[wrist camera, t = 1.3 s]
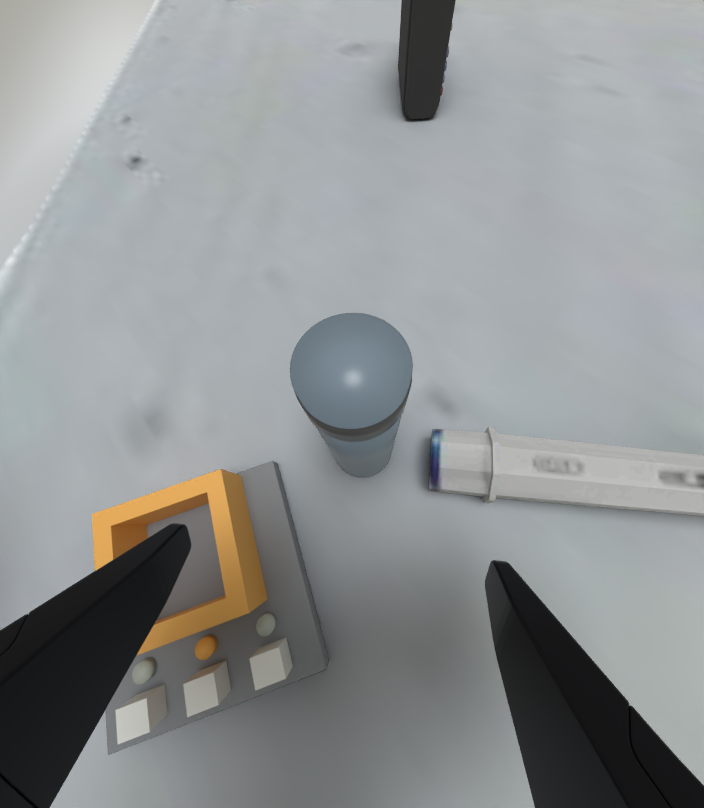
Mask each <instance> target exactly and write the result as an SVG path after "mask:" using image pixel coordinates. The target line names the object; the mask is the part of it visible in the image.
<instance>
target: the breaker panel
mask: <svg viewBox="0 0 704 808" xmlns="http://www.w3.org/2000/svg"><path fill="white" fill-rule="evenodd" d="M171 523H180V524H185V525H186V526H187V528H188V532H189V535H190V539H191V550H190V553H189V555H188V557H187V559H186V561H185V563H184V566H183V568H182V570H181V572H180V574H179V577H178V579H177V581H176V583H175V585H174V588H173V590H172V592H171V594H170V596H169V598H168V600H167V602H166V604H165V606H164V608H163V610H162V612H161V613H160V615H159V617H158V619H157V620H156V622H155V624H154V626H153V627H152V629H151V631H150V633H149V634H148V636H147V638H146V640H145V641H144V643H143V645H142V647H141V648H140V650H139V652H138V654H137V655H136V657H135V659H134V661H133V662H132V664H131V666H130V668H129V669H128V671H127V673H126V675H125V676H124V678H123V680H122V682H121V683H120V685H119V687H118V689H117V690H116V692H115V694H114V696H113V697H112V699H111V701H110V703H109V704H108V706H107V708H106V728H107V746H108V755H110V754H112V753H115V752H117V751H120V750H122V749H125V748H127V747H130V746H133V745H135V744H138V743H140V742H143V741H145V740H148V739H150V738H153V737H155V736H158V735H161V734H163V733H166V732H168V731H171V730H173V729H176V728H178V727H181V726H183V725H186V724H188V723H191V722H194V721H196V720H199V719H201V718H204V717H206V716H209V715H211V714H214V713H216V712H219V711H222V710H224V709H227V708H229V707H232V706H234V705H237V704H239V703H242V702H244V701H247V700H250V699H252V698H255V697H257V696H260V695H262V694H265V693H267V692H270V691H272V690H275V689H278V688H280V687H283V686H285V685H288V684H290V683H293V682H295V681H298V680H300V679H303V678H305V677H308V676H311V675H313V674H316V673H318V672H321V671H323V670H326V668H327V665H328V662H329V658H328V655H327V651H326V647H325V643H324V639H323V635H322V632H321V628H320V624H319V620H318V616H317V612H316V609H315V605H314V601H313V597H312V593H311V590H310V586H309V582H308V578H307V574H306V570H305V567H304V563H303V559H302V555H301V551H300V548H299V544H298V540H297V536H296V532H295V528H294V525H293V521H292V517H291V513H290V509H289V505H288V502H287V498H286V494H285V490H284V486H283V483H282V479H281V475H280V471H279V467H278V464H277V463H275V462H274V461H271V462H268V463H265V464H262V465H259V466H257V467H254V468H251V469H248V470H245V471H242V472H240V473H237V474H234V473H231V472H228V471H225V470H222V469H220V470H217V471H214V472H211V473H208V474H205V475H203V476H200V477H197V478H194V479H191V480H188V481H185V482H183V483H180V484H177V485H174V486H171V487H168V488H165V489H163V490H160V491H157V492H154V493H151V494H148V495H145V496H143V497H140V498H137V499H134V500H131V501H128V502H125V503H123V504H120V505H117V506H114V507H111V508H108V509H105V510H102V511H100V512H97V513H94V514H92V525H93V544H94V563H95V571H96V570H98V569H99V568H101V567H102V566H104V565H106V564H107V563H109V562H110V561H112V560H113V559H115V558H117V557H118V556H120V555H121V554H123V553H125V552H126V551H128V550H129V549H131V548H133V547H134V546H136V545H137V544H139V543H141V542H142V541H144V540H145V539H147V538H149V537H150V536H152V535H153V534H155V533H156V532H158V531H160V530H161V529H163V528H164V527H166V526H168V525H169V524H171Z"/></svg>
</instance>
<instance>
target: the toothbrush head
mask: <svg viewBox="0 0 704 808" xmlns="http://www.w3.org/2000/svg"><path fill="white" fill-rule="evenodd" d="M429 491H438V492H447V493H456V494H465V495H473V496H482V497H483V502H484V503H491V502H494V501H495V500H496V498H503V499H515V500H526V501H538V502H549V503H561V504H572V505H584V506H596V507H607V508H619V509H630V510H642V511H653V512H665V513H676V514H688V515H699V516H704V456H703V455H694V454H685V453H675V452H666V451H657V450H647V449H638V448H628V447H619V446H610V445H600V444H591V443H582V442H572V441H563V440H553V439H544V438H535V437H525V436H516V435H507V434H497V433H496V431H495V428H494V427H488V428H487V430H486V431H485V432H470V431H456V430H442V429H432V437H431V453H430V473H429Z"/></svg>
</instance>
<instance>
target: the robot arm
mask: <svg viewBox="0 0 704 808" xmlns="http://www.w3.org/2000/svg"><path fill="white" fill-rule="evenodd" d="M190 550H191V539H190V535H189V532H188V528H187V526H186V525H185V524H180V523H171V524H169V525H168V526H166V527H164V528H163V529H161V530H160V531H158V532H156V533H155V534H153V535H152V536H150V537H149V538H147V539H145V540H144V541H142V542H141V543H139V544H137V545H136V546H134V547H133V548H131V549H129V550H128V551H126V552H125V553H123V554H121V555H120V556H118V557H117V558H115V559H113V560H112V561H110V562H109V563H107V564H106V565H104V566H102V567H101V568H99V569H98V570H96V571H94V572H93V573H91V574H90V575H88V576H86V577H85V578H83V579H82V580H80V581H78V582H77V583H75V584H74V585H72V586H70V587H69V588H67V589H66V590H64V591H63V592H61V593H59V594H58V595H56V596H55V597H53V598H51V599H50V600H48V601H47V602H45V603H43V604H42V605H40V606H39V607H37V608H35V609H34V610H32V611H31V612H30V613H29V614H26V615H24V616H23V617H21V618H19V619H18V620H16V621H15V622H13V623H11V624H10V625H8V626H7V627H5V628H3V629H2V630H0V808H50V806H51V804H52V802H53V801H54V799H55V797H56V795H57V794H58V792H59V790H60V788H61V787H62V785H63V783H64V781H65V780H66V778H67V776H68V774H69V773H70V771H71V769H72V767H73V766H74V764H75V762H76V760H77V759H78V757H79V755H80V753H81V752H82V750H83V748H84V746H85V745H86V743H87V741H88V739H89V738H90V736H91V734H92V732H93V731H94V729H95V727H96V725H97V724H98V722H99V720H100V718H101V717H102V715H103V713H104V711H105V710H106V708H107V706H108V704H109V703H110V701H111V699H112V697H113V696H114V694H115V692H116V690H117V689H118V687H119V685H120V683H121V682H122V680H123V678H124V676H125V675H126V673H127V671H128V669H129V668H130V666H131V664H132V662H133V661H134V659H135V657H136V655H137V654H138V652H139V650H140V648H141V647H142V645H143V643H144V641H145V640H146V638H147V636H148V634H149V633H150V631H151V629H152V627H153V626H154V624H155V622H156V620H157V619H158V617H159V615H160V613H161V612H162V610H163V608H164V606H165V604H166V602H167V600H168V598H169V596H170V594H171V592H172V590H173V588H174V585H175V583H176V581H177V579H178V577H179V574H180V572H181V570H182V568H183V566H184V563H185V561H186V559H187V557H188V555H189V553H190ZM485 590H486V596H487V603H488V609H489V616H490V622H491V629H492V635H493V641H494V647H495V652H496V656H497V661H498V664H499V668H500V672H501V676H502V680H503V684H504V688H505V692H506V696H507V700H508V704H509V707H510V711H511V715H512V719H513V723H514V727H515V731H516V735H517V739H518V743H519V746H520V750H521V754H522V758H523V762H524V766H525V770H526V774H527V778H528V782H529V786H530V789H531V793H532V797H533V801H534V805H535V808H704V785H703V784H702V783H701V782H700V781H699V780H698V779H697V778H696V777H695V776H694V775H693V774H692V772H691V771H690V770H689V769H688V768H687V767H686V766H685V765H684V764H683V763H682V762H681V761H680V760H679V759H678V758H677V756H676V755H675V754H674V753H673V752H672V751H671V750H670V749H669V747H668V746H667V745H666V744H665V743H664V742H663V741H662V740H661V738H660V737H659V736H658V735H657V734H656V733H655V732H654V731H653V729H652V728H651V727H650V726H649V725H648V724H647V723H646V721H645V720H644V719H643V718H642V717H641V716H640V714H639V713H638V712H637V711H636V710H635V709H634V707H632V706H629V702H628V701H627V700H626V698H625V697H624V696H623V695H622V694H621V693H620V691H619V690H618V689H617V688H616V687H615V686H614V684H613V683H612V682H611V681H610V680H609V679H608V678H607V676H606V675H605V674H604V673H603V672H602V671H601V669H600V668H599V667H598V666H597V665H596V664H595V662H594V661H593V660H592V659H591V658H590V657H589V656H588V654H587V653H586V652H585V651H584V650H583V649H582V647H581V646H580V645H579V644H578V643H577V642H576V640H575V639H574V638H573V637H572V636H571V635H570V633H569V632H568V631H567V630H566V629H565V628H564V627H563V625H562V624H561V623H560V622H559V621H558V620H557V618H556V617H555V616H554V615H553V614H552V613H551V611H550V610H549V609H548V608H547V607H546V606H545V605H544V603H543V602H542V601H541V600H540V599H539V598H538V596H537V595H536V594H535V593H534V592H533V591H532V589H531V588H530V587H529V586H528V585H527V584H526V582H525V581H524V580H523V579H522V578H521V577H520V576H519V574H518V573H517V572H516V571H515V570H514V569H513V567H512V566H511V565H510V564H509V563H507V562H505V561H497V560H493V561H491V563H490V566H489V569H488V572H487V576H486V579H485Z"/></svg>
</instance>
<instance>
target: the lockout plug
mask: <svg viewBox="0 0 704 808" xmlns="http://www.w3.org/2000/svg"><path fill="white" fill-rule="evenodd" d="M412 369H413V364H412V356H411V352H410V349H409V347H408V345H407V343H406V341H405V339H404V338H403V336H402V335H401V334H400V333H399V332H398V331H397V330H396V329H395V328H394V327H393V326H392V325H390V324H389V323H387V322H386V321H384V320H382V319H380V318H377V317H375V316H371V315H368V314H362V313H345V314H339V315H335V316H331V317H329V318H326V319H324V320H322V321H320V322H318V323H317V324H315V325H314V326H312V327H311V328H310V329H309V330H308V331H307V332H306V333H305V334H304V335H303V336H302V337H301V339H300V340H299V342H298V343H297V345H296V347H295V349H294V352H293V354H292V358H291V363H290V378H291V382H292V386H293V388H294V391H295V394H296V396H297V399H298V401H299V403H300V404H301V406H302V408H303V409H304V411H305V412H306V414H307V416H308V417H309V419H310V420H311V421H312V423H313V424H314V425H315V426H316V428H317V429H318V431H319V433H320V434H321V436H322V438H323V439H324V441H325V443H326V444H327V446H328V447H329V449H330V451H331V452H332V454H333V456H334V457H335V459H336V461H337V462H338V464H339V465H340V467H341V468H342V469H343V470H344V471H345V472H347V473H348V474H350V475H353V476H356V477H370V476H373V475H375V474H377V473H379V472H380V471H382V470H383V469H384V468H385V466H386V465H387V463H388V461H389V459H390V456H391V452H392V448H393V445H394V441H395V437H396V434H397V430H398V426H399V422H400V419H401V415H402V413H403V410H404V408H405V405H406V402H407V398H408V394H409V391H410V387H411V382H412Z"/></svg>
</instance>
